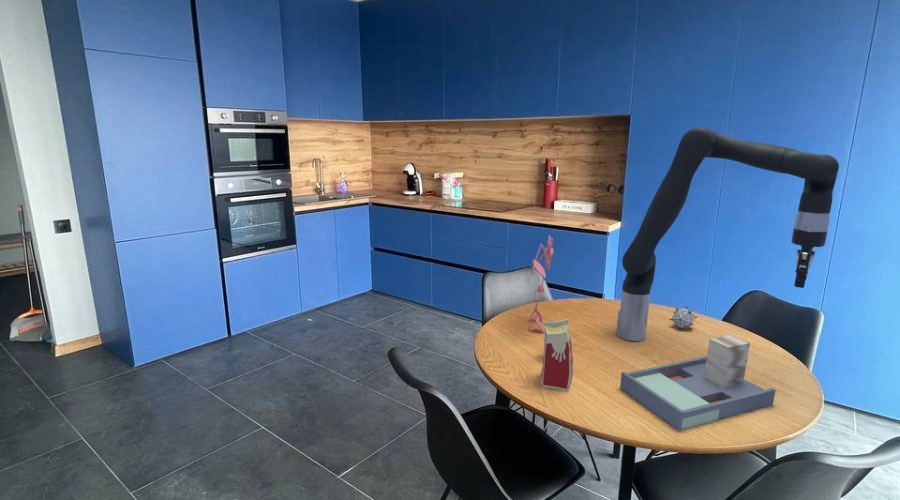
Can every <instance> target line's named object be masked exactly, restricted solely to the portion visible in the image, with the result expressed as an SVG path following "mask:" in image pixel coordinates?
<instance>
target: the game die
mask: <svg viewBox="0 0 900 500" xmlns="http://www.w3.org/2000/svg"><path fill="white" fill-rule="evenodd" d="M673 313H674V314H673V316H672V318H669V319H668V320H669V321H672V322H673V323H674V324H675V326H677V327H678V328H679V329H678V330H679V331H681V330H682V329H685V328H687V329H688V328H689V329H692V327H691V326H694V324H693V323H694V321H695V319H697V318H698V316H695V315H694V314H693V313H692V311H691V310H689V309H688V306H685V308H684V307H683V308H679V309H678V307H675V311H673Z"/></svg>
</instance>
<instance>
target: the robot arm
mask: <svg viewBox="0 0 900 500" xmlns="http://www.w3.org/2000/svg"><path fill="white" fill-rule="evenodd" d="M705 158H713V159H723V160H729V161H734V162H737V163H741V164H744V165H747V166H750V167H754V168H757V169H760V170H765V171H769V172H772V173H773V172H774V173H779V174H787V175H790V176H793V177H797V178H800V179H804V182H803V183H804V184H803V190H802V193H801V195H800V199H799V203H798V208H797V214H796V215H795V220H794V224H793V225H794V226H793V231H792V236H791V244H794V245H797V246H800V247H801V249H798V248H797V251H796V255H795V256H796V261H795V266H796V269H795V280H794V285H793V286H794V287H795V288H799V289H803V288H804V287H805V285H806V284H805V283H806V281H807V276H808V274H809V269H811V268H812V264H813V260H814V258H815V253H816V251H815V250H814V248H823V247H825V244H826V240H827V237H828V230H829V225H830V215H831V209H832V205H833V199H834V197H833V196H834V195H833V193H834V188H835V184H836V181H837V177H838V173H839V169H840V164H839V161H838V160H837V159H836V157H833V155H830V154H819V153H812V152H806V151H801V150H797V149H794V148H790V147H786V146H781V145H775V144H769V143H763V142H757V141H756V142H754V141H748V140H744V139H743V140H742V139H737V138H735V137H734V138H733V137H731V136H727V135H724V134H721V133H718V132H716V131H713V130H711V129H709V128H706V127H693V128H691V129H689V130H687V131H686V132H685V133H684V134H683V135H682V137H681V139H680V141H679V143H678V147H677V149H676V152H675V155H674V157H673V160H672V161H671V165H670V167H669V169H668V171H667V173H666V174H665V176H664V177H663V180H662V181H661V183H660V185H659V186H658V188H657V191H656V192H655V194H654V196H653V198H652V200H651V202H650V204H649V206H648V208H647V211H646V213H645V215H644V217H643V220H642V222H641V225H640V227H639V229H638V231H637V232H636V233H637V234H636V236H634V239H633V240H632V241H631V243H630V245H629V247H627V250H626V251H625V252H624V254H623V257H622V267H623V269H624V271H625V272H626V275H625V277H624V281H623V282H622V286H621V287H622V290H621V299H620V309H619V310H617V311H618V312H617V319H616V322H617V323H616V330H615V331H616V333H615V335H616V336H617V337H620V338H621V339H622V340H626V341H630V342H642V341H644V340H645V339H646V335H647V328H648V327H647V326H648V325H647V324H648V318H649V317H648V316H649V307H650V298H651V297H650V296H651V290H652V286H653V283H654V279H655V272H656V264H657V261H656V260H657V258H656V254H655V250H656V249H657V246H658V244H659V242H660V241H661V240H662V238H663V237H664V236H665V235H666V234H667V233H668V231H669V230H670V228H671V227H672V226H673V224H674V223H675V222H676V220H677V218H678V216H679V215H680V213H681V211H682V209H683V207H684V205H685V204H686V201H687V198H688V195H689V191H690V188H691V184H692V180H693V178H694V176H695V174H696V172H697V170H698V168H700V165H701V164H702V163H703V160H704V159H705Z"/></svg>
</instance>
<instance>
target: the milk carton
mask: <svg viewBox="0 0 900 500" xmlns="http://www.w3.org/2000/svg"><path fill="white" fill-rule="evenodd" d="M569 320H570V319H569V318H566V319H561V321H560V320H557V321H556V320H555V321H556V322H548V321H542V322H541V324H543V325H544V330H545V329H546V333H547V337H546V347H545V353H544V352H543V356H544V357H543V359H542V366H541V371H540V377H539V382H540V385H541V388H546V389H554V390H558V391H563V392H567V393H569V391H570V388H571V385H572V382H573V381H572V380H573V377H574V376H573V374H574V356H573V344H572V339H571V333H570V329H569Z"/></svg>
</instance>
